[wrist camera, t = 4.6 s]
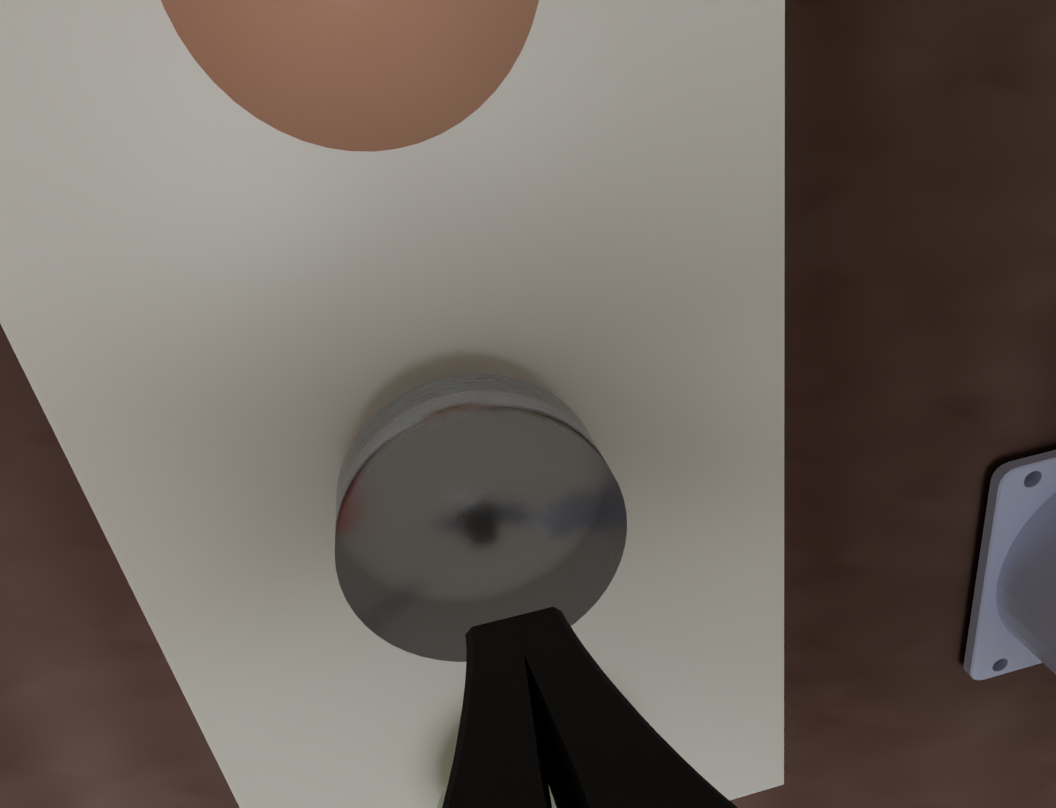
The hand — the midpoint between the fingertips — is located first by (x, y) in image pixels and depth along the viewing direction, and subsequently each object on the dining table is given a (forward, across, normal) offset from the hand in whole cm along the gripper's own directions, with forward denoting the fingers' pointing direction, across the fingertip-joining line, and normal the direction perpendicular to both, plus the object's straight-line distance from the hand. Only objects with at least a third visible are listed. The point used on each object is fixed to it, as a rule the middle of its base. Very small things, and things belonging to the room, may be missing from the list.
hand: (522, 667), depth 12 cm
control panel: (+7, 0, 0) cm, 7 cm away
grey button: (+4, 0, 0) cm, 4 cm away
